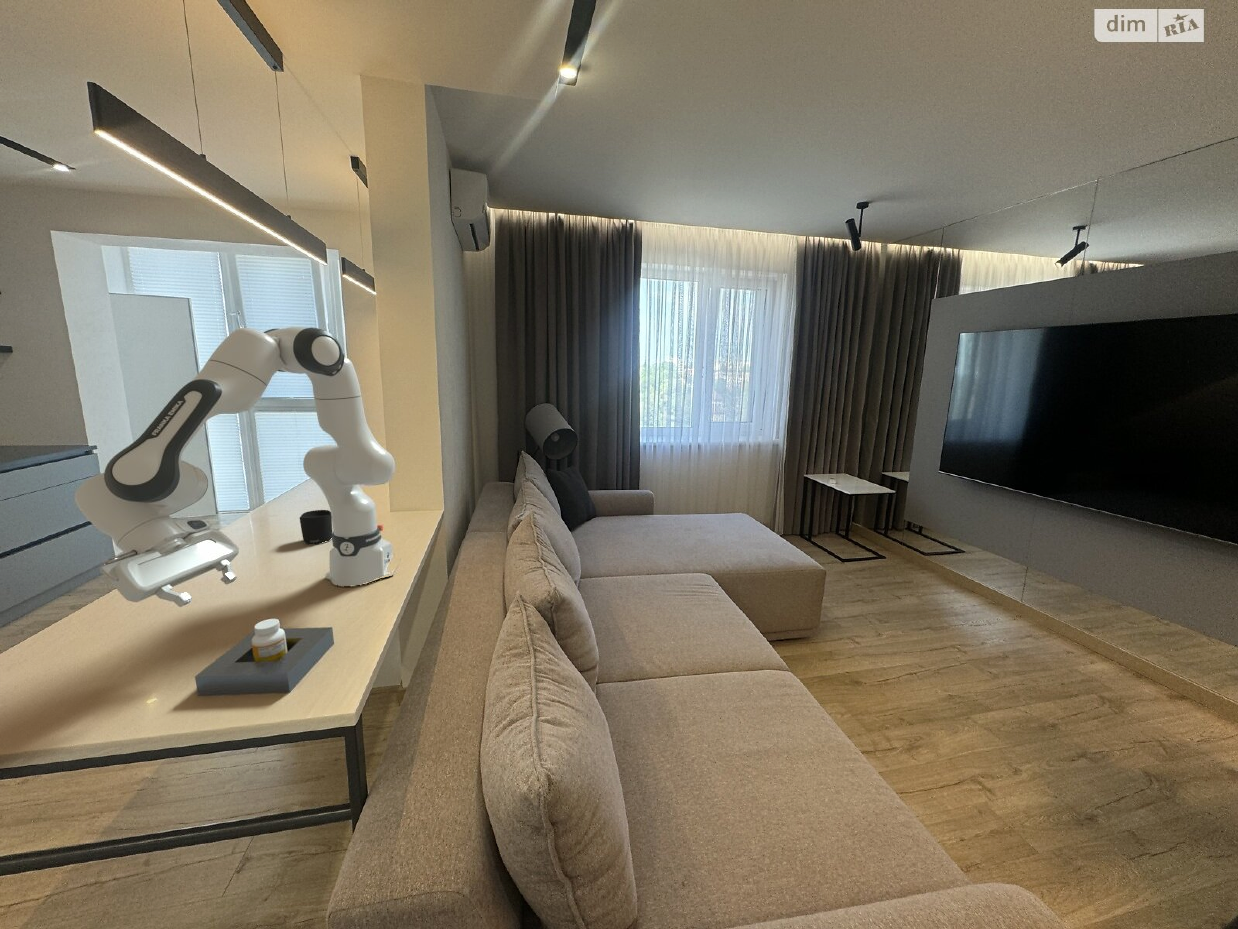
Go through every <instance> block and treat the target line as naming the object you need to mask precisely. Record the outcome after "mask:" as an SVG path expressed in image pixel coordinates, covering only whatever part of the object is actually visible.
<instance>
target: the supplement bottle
mask: <svg viewBox="0 0 1238 929" xmlns="http://www.w3.org/2000/svg"><path fill="white" fill-rule="evenodd" d="M280 627H281V624H280V620H279V619H277V618H269V619H264V620H262V621H259V622H257V623H255V625H254V630H255V634H256V635H255V636H254V637H253V638H252V649H253V656H254V662H266V661H279V660H280V659H281V658H282V657H283V656H284V655H285V654H286V653H287V645H286V637H285V632H284V630H283V629H284V628H280Z"/></svg>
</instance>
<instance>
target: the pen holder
mask: <svg viewBox="0 0 1238 929" xmlns="http://www.w3.org/2000/svg"><path fill="white" fill-rule="evenodd" d="M299 524H300V528H301V535H302V540H303V541H302V542H303V543H304V544H305V545H309V544H315V545H320V544H319V543H322V542H325V541H328V542H330V541H331V540H332V539H331V538H332V534H333V524H332V517H331V510H330V509H316V510H310V511H306V512H304V513H302V514H301V515H300V517H299ZM330 539H331V540H330ZM329 540H330V541H329ZM325 543H326V542H325ZM322 544H323V543H322Z"/></svg>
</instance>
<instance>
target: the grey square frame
mask: <svg viewBox="0 0 1238 929" xmlns="http://www.w3.org/2000/svg"><path fill="white" fill-rule="evenodd" d="M282 629H283V630H284V632H285V637H286V645H287V653H286V654H285V655H284V656H283V657H282V658H281V659H280V660H279V661H266V662H254V656H253V649H252V638H253V637H254V636H255V635H256V634H255V629H254V630H252V631H251V632H250V633H248V634H247V635H246V636H244V637H243V638H242V639H241V640H239V641H238V642H237V643H236V644H235V645H232V647H230V649H228V650H227V651H226V652H224V653H223V654H222V655H220V656H219V657H218V658H216V659H215V660H214V661H213V662H212V663H210V664H209V665H208V666H206V667H205V668H204V669H203V670H201V671H200V672H199V673H198V674H196V675H195V676H194V680H195V685H196V691H197V692H196V693H197V696H198V697H205V696H208V697H209V696H211V697H212V696H230V695H231V696H234V695H257V694H281V693H283V694H284V693H285V694H286V693H291V692H292V690H293V689H295V688H296V686H297V685H298V684H299V683H300V682H301V681H302V680H303V678H305V676H306V675H307V674H308V673H309V672H310V671H311V670H312V669H313V667H315V665H316V664H317V663H319V661H320V660H321V659H322V658H323V657H324V655H325V654H326V653H327V652H328V651H329V650H331V648H332V647H333V646H334V644H335V639H334V632H333V631H334V629H333V627H332V626H331V627H327V626H326V627H322V626H321V627H295V628H294V627H293V628H291V627H290V628H289V627H287V628H282Z"/></svg>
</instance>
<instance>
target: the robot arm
mask: <svg viewBox="0 0 1238 929" xmlns="http://www.w3.org/2000/svg"><path fill="white" fill-rule="evenodd" d="M277 372H281V373H291V374H298V375H299V374H301V375H303V374H304V375H305V374H306V376H307V377H308V378H309V380H310V383H311V386H312V394H313V398H314V404H315V410H316V415H317V421H318V425H319V427H320V428H321V430H322V431H324V432H325V433H326V434H328V435H329V436H330V437H331V438H332V439H333V441H334V442H335V443H336V444H325V445H320V446H315V447H312V448H310V449H309V450H308V451H307V452H306V454H305V455H304V457H303V463H302V465H303V470H304V472H305V474H306V476H308V477H309V478H310V479H311V480H313V481H314V482H315V483H316V485H317V486H318V488H320V490H321V492H322V493H323V495H324V497H325V499H326V502H327V504H328V507H329V511H330V512H331V517H332V539H331V541H332V547H333V548H331V549H330V551H329V572H327V573H326V574H325V579H327V580H329V581H331V583H332V584H333V585H334V586H337V585H338V587H344V586H350V587H352V586H351V585H360V584H363V583H366V582H370V581H373V580H374V579H376V578H380V577H382V576H384V575H389V574H392V573H393V572H394V570H393V571H391V572H392V573H390V572H387V567H388V565H389V562H390V561H391V558H392V557H393V554H394V552H393V546H392V543H391V542H389V541H388V540H386V539H384V538H383V537H382V535H381V534H382V533H381V532H383V530H384V525H383V524H382V523H381V524H378V521H377V520H378V519H377V518H378V517H377V508H376V503H375V501H374V500H373V499H372V498H371V497H370V496H369V495H367V494H366V493H365V492H364V490H363V489H362V487H373V486H380V485H385V484H386V483H389V482H390V481H391V479H392V478H393V476H394V475H395V472H396V462H395V459H394V457H393V455H392V454H391V453H390V452H389V451H387V450H386V448H384V447H383V446H381V444H380V443H379V442H378V441H377V439H376V438H375V436H374V435H373V433H372V431H371V428H370V427H369V424H368V422H367V419H366V413H365V409H364V401H363V398H362V389H361V386H360V382H359V378H358V374H357V372H356V370H355V366H354V364H353V362H352V361H351V360H350V359H349V358H348V357H346V356H345V354H344V352H343V348H342V346H341V344H340V342H339V341H338V339H337V338H336V337H335V336H334V334H332V333H330V332H329V331H327V330H324V329H322V328H318V327H303V326H302V327H301V326H289V327H284V328H272V329H271V328H270V329H268V330H265V331H260V330H259V329H255V328H251V327H240V328H237V329H235V330H234V331H232V332H231V333H230V334H229V335H228V336H227V337H226V338H225V339H224V340H223V341H221V343H220V344H219V345H218V346H217V348H215V350H214V352H213V353H212V354H211V356H210V357H209V358H208V359H207V361H206V363H205V365H203V367H202V369H201V370H200V371H199V372H198V374H197V375H196V376H195V377H194V378H193V379H192V380H191V381H190V382H187V383H186V384H185V385H184V386H182V388H180V389H179V390H178V391H177V392H176V393H175V394H174V395H173V397H172V398H171V399H170V400H169V401H168V403H167V404H166V405H165V407H163V408H162V410H161V411H160V412H159V414H158V415H157V416H155V418H154V419H153V421H151V423H150V424H149V425H148V427H146V429H145V431H143V432H142V434H141V435H140V436H139V437H137V439H136V440H135V441H133V442H132V443H131V444H129V445H128V446H126V447H125V448H122V450H120V451H119V452H118V453H117V454H115V455H114V456H112V458H111V459H110V460H109V462H108V463H107V465H106V466H105V469H104V472H101V473H98V474H96V475H93V476H92V477H90V478H88V479H87V480H85V481H84V482H83V483H82V484H81V485H80V486H79V487H78V488H77V490H76V491H75V494H74V501H75V504H76V506H77V508H78V510H79V511H80V512H81V513H82V514H83V515H84V517H85V518H86V519H87V520H88V521H89V522H90V523H91V524H92V525H93V526H94V527H95V528H96V529H98V531H99V532H101V533H103V534H104V535H106V536H109V537H111V539H112V540H113V542H114V544H115V546H116V547H117V548H118V549H119V550H121V551H122V552H123V553H122V554H120V555H118V556H114V557H110V558H107V559H105V560H104V562H103V563H102V564H101V565H100V568H99V569H100V573H101V574H103V575H104V576H105V578H107V579H109V580H110V581H111V583H112V585H113V586H114V588H115V589H116V590H117V591H118V593H119V594H120V595H121V596H122V597H123V598H124V599H125V600H126V601H128V602H132V603H138V602H142V601H144V600H146V599H148V598H151V597H153V596H156V597H157V598H158V599H161V600H166V601H168V602H173V603H174V604H175V605H177V606H178V607H179V608H182V607H184V606H186V605H188V604H190V603H191V602H192V600H193V597H192V595H190V594H189V593H188V592H184V593H180V592H177V591H174V590H173V588H174V587H176V586H178V585H181V584H183V583H185V582H188V581H190V580H192V579H195V578H196V577H199V576H201V575H203V574H206V573H208V572H210V571H213V570H216V571H217V572H221V574H222V577H221V578H220V581H221V582H223V584H225V585H229V584H232V583H233V582H235V581H236V580H237V575H236V574H235V573H234V572H233V570H232V564H231V562H232V561H233V560H235V559H236V557H237V556H238V555H239V552H240V550H239V547H238V545H237V544H236V543H234V541H232V539H230V538H229V537H228V536H227V535H225V533H223V532H222V531H220V530H219V529H215V528H211V527H212V525H213V524H212V523H211V521H210V520H207V519H204V518H203V519H202V518H200V519H173V518H172V517H171V515H173V514H175V513H178V512H180V511H182V510H184V509H186V508H188V507H190V506H192V505H193V504H195V503H197V502H199V501H200V500H201V499H202V498H203V497H204V496H205V494H207V490H208V488H209V487H208V486H209V480H208V477H207V475H206V473H205V472H204V471H203V470H202V469H200V468H199V467H198V466H195V465H193V464H191V463H189V462H187V461H185V460H182V456H183V455H182V454H183V452H184V451H185V450H186V448H187V447H188V445H189V444H190V442H191V441H192V440H193V439H194V438H195V437H196V435H197V433H199V431H200V430H201V429H202V427H203V426H204V424H205V423H206V422H208V421H209V419H211V418H213V417H215V416H218V415H224V414H226V415H229V414H230V415H232V414H240V413H243V412H246V411H247V412H248V411H249V410H251V409H252V408H253V407H254V406H255V405H256V404H257V403H258V402H259V400H260V399H261V398H262V396H263V395H264V392H265V391H266V389H267V387H268V386H269V384H270V382H271V380H272V378H273V376H274V375H275V374H276V373H277ZM361 486H362V487H361ZM360 586H361V585H360Z"/></svg>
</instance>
